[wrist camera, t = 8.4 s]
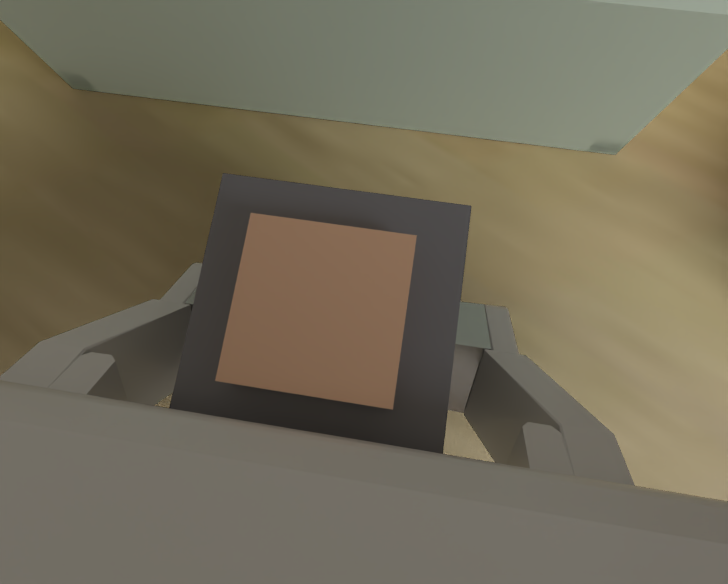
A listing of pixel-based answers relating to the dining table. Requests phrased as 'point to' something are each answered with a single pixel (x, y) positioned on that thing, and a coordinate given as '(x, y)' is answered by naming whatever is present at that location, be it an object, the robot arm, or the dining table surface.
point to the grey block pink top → (327, 312)
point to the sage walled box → (394, 59)
